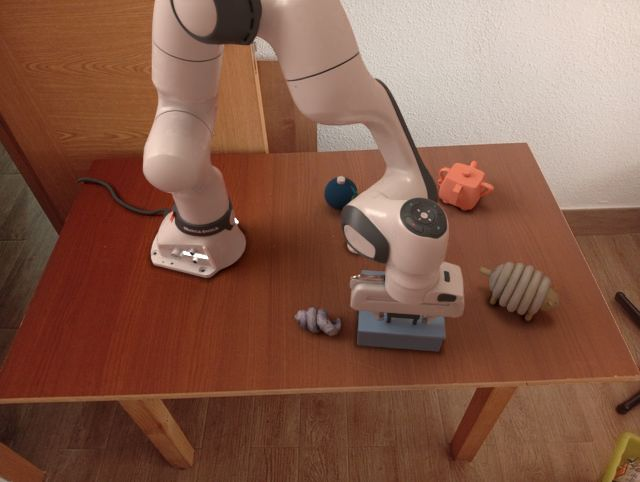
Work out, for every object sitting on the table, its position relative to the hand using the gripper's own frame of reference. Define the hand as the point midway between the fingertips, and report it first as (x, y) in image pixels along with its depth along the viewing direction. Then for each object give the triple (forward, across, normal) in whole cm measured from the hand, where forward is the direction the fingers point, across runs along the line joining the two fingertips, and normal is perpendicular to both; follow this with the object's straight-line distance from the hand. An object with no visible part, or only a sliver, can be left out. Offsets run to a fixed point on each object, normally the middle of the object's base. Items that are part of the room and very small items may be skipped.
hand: (402, 319), depth 92 cm
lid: (+2, 0, +5) cm, 5 cm away
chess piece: (+9, -10, +25) cm, 28 cm away
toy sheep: (+9, +24, +12) cm, 29 cm away
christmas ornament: (+9, -14, +38) cm, 41 cm away
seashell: (+9, -17, +2) cm, 19 cm away
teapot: (+9, +16, +43) cm, 47 cm away
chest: (+9, 0, +5) cm, 10 cm away
